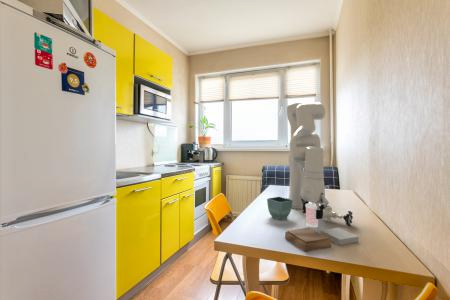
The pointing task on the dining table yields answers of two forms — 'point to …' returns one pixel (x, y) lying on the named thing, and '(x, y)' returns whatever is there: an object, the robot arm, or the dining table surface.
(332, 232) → the grey stand
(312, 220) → the beverage cup
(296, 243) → the walnut stand
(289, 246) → the dining table surface
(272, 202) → the flower pot
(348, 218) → the valve
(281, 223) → the dining table surface
